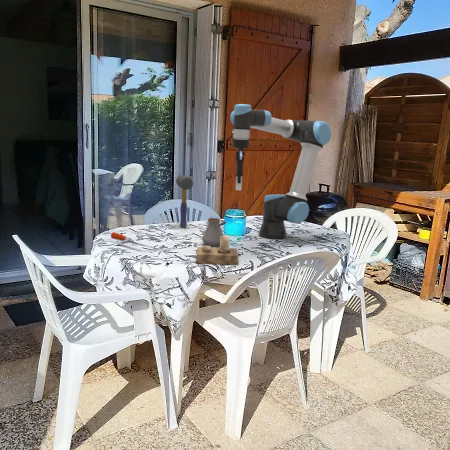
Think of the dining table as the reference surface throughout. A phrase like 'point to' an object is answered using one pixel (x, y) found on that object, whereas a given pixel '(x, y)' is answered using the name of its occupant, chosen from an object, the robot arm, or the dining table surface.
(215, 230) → the coffee pot
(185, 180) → the rubber mallet
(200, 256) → the wooden block with hole
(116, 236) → the hand saw
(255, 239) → the dining table surface
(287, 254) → the dining table surface
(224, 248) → the beech dowel
